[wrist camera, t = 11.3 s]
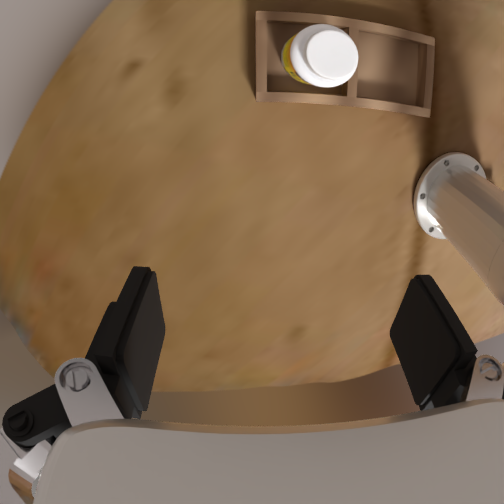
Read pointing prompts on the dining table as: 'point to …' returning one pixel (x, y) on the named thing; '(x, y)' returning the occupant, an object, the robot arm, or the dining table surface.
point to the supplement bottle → (320, 56)
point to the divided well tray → (367, 72)
